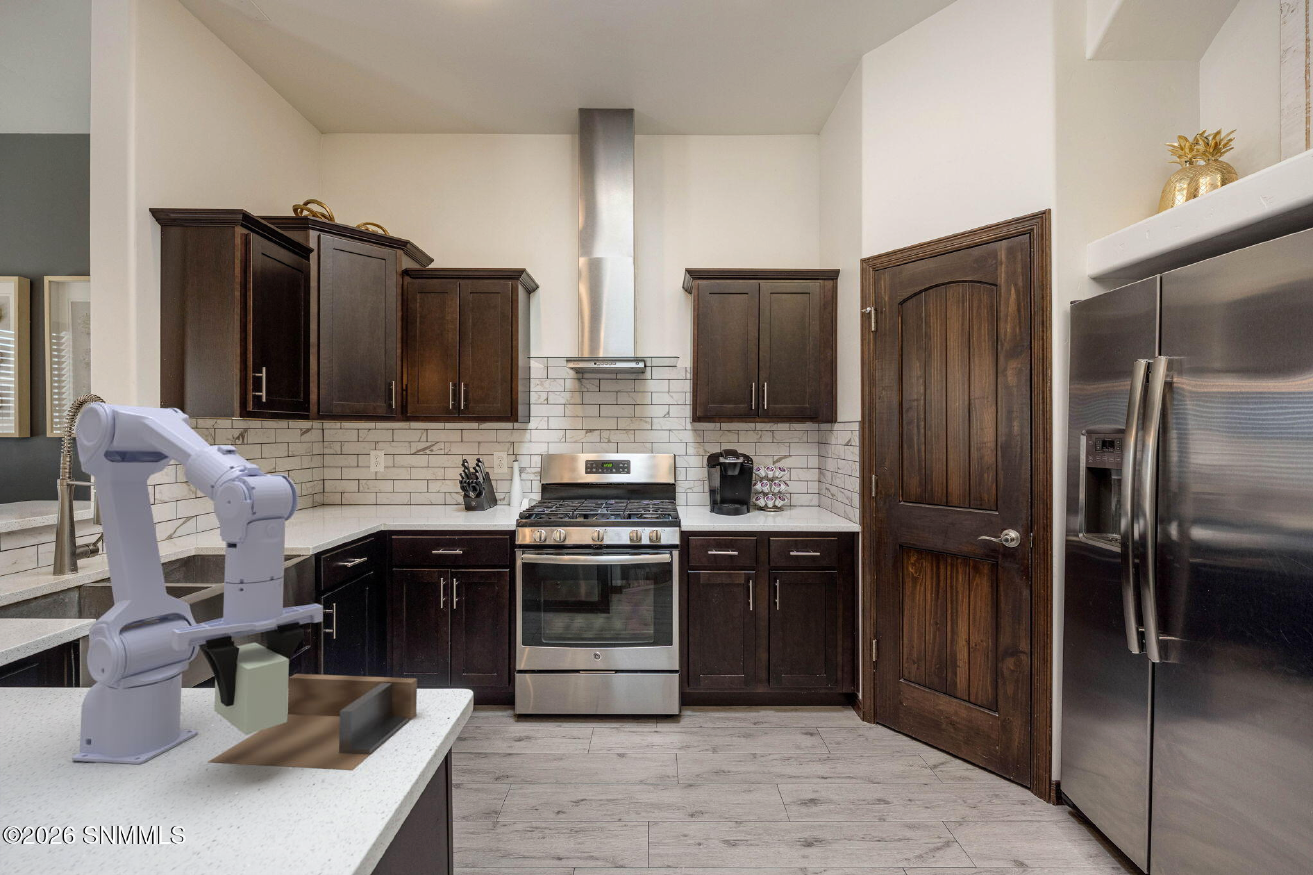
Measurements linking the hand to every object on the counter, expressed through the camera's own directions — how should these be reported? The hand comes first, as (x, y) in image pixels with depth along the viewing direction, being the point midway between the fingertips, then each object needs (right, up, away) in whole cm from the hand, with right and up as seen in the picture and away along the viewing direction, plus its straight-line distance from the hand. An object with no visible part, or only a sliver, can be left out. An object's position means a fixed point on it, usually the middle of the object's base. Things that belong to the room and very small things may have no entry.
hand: (251, 697), depth 67 cm
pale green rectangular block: (0, -2, 0) cm, 2 cm away
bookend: (+11, -8, +7) cm, 16 cm away
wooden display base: (+4, -9, +6) cm, 12 cm away
